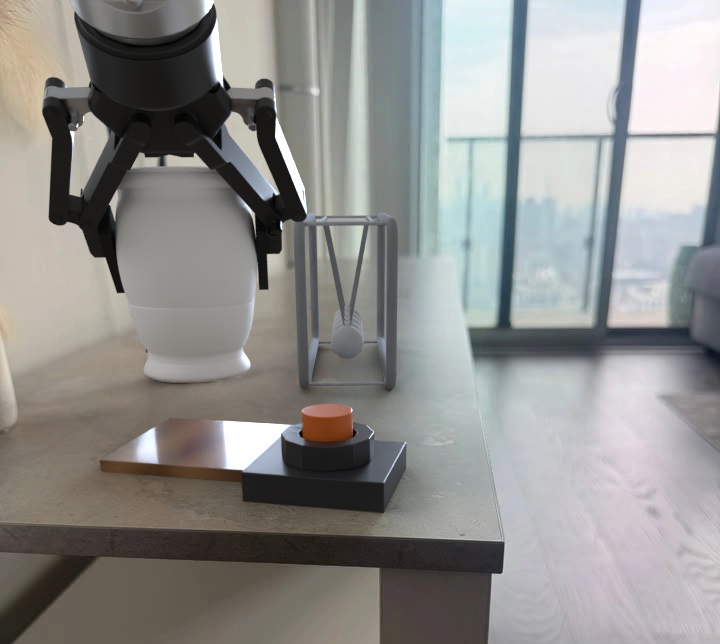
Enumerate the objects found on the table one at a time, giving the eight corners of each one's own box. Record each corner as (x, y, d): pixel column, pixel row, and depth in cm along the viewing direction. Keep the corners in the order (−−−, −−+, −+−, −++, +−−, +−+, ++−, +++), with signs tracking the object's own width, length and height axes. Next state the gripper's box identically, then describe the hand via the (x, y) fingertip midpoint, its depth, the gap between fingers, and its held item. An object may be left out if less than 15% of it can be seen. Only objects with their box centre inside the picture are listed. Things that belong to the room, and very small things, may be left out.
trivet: (100, 471, 58) (98, 459, 58) (170, 428, 69) (169, 417, 68) (246, 483, 55) (246, 470, 55) (295, 435, 66) (295, 424, 66)
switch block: (242, 502, 52) (238, 447, 51) (283, 460, 60) (281, 412, 59) (383, 513, 50) (384, 457, 48) (406, 468, 58) (407, 419, 57)
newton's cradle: (311, 343, 108) (308, 212, 102) (384, 342, 108) (385, 212, 102) (298, 394, 80) (292, 218, 74) (396, 393, 80) (398, 218, 74)
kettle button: (296, 443, 52) (295, 415, 52) (310, 429, 56) (309, 402, 55) (346, 447, 52) (345, 418, 51) (357, 432, 55) (357, 404, 54)
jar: (266, 384, 56) (255, 165, 50) (122, 391, 54) (94, 165, 49) (260, 356, 65) (250, 171, 60) (138, 361, 64) (117, 171, 59)
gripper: (-95, 47, 37) (41, 320, 57) (364, 53, 40) (339, 312, 60) (-74, -47, 40) (48, 243, 60) (351, -36, 43) (332, 239, 63)
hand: (193, 277), depth 60 cm, fingers closed on jar, 10 cm apart
